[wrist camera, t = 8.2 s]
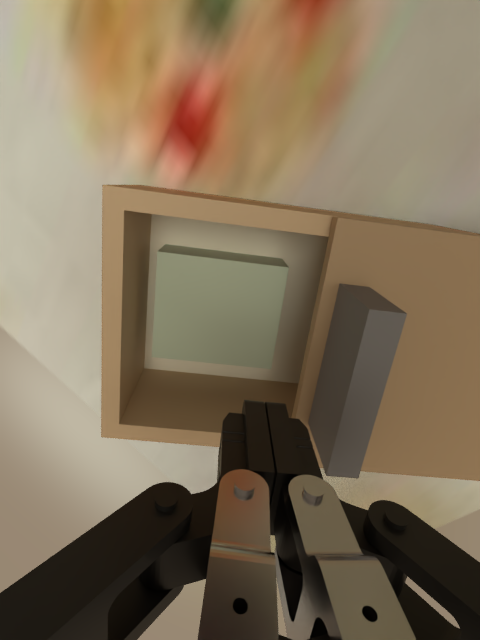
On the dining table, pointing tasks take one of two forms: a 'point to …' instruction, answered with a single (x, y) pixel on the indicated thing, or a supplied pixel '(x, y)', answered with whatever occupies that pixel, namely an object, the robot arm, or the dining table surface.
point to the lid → (394, 353)
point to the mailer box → (205, 307)
